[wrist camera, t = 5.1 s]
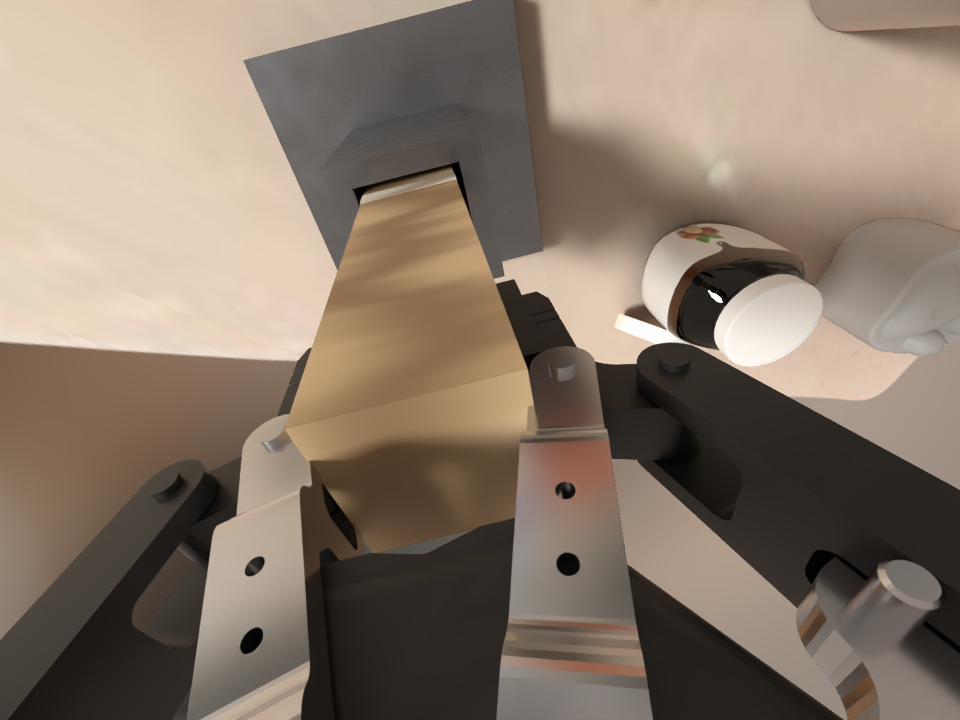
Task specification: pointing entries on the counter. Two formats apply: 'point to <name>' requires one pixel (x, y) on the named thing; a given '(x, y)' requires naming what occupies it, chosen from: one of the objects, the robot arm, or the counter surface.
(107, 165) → the counter surface
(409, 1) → the counter surface
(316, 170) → the metal sleeve stand
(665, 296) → the spread jar
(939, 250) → the lumpy-topped squat cylinder
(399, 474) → the oak post
